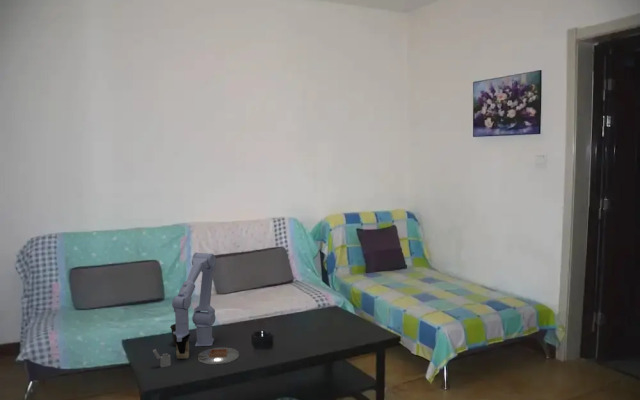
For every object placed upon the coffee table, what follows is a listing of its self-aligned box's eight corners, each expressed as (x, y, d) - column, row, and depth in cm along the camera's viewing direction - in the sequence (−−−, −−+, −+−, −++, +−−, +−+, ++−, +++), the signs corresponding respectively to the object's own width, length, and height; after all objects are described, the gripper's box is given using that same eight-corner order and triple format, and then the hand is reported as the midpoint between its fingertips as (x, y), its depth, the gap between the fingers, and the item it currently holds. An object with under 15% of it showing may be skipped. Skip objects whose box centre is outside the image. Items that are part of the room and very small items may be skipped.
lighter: (170, 364, 222) (169, 346, 222) (170, 365, 221) (170, 347, 220) (153, 367, 219) (152, 349, 218) (153, 368, 217) (153, 350, 217)
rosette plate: (201, 350, 239) (201, 345, 239) (240, 348, 240) (240, 343, 240) (194, 365, 221) (194, 359, 221) (236, 363, 222) (236, 358, 222)
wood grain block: (178, 356, 232) (177, 341, 231) (189, 355, 232) (188, 340, 231) (176, 358, 229) (176, 343, 228) (188, 358, 229) (187, 343, 228)
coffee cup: (183, 347, 242) (182, 327, 241) (167, 346, 244) (166, 326, 243) (190, 342, 250) (190, 322, 249) (175, 341, 252) (175, 321, 251)
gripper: (176, 317, 236) (177, 346, 237) (169, 327, 222) (170, 358, 223) (191, 317, 237) (192, 345, 238) (185, 327, 222) (186, 357, 223)
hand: (182, 351), depth 230 cm, fingers closed on wood grain block, 3 cm apart
